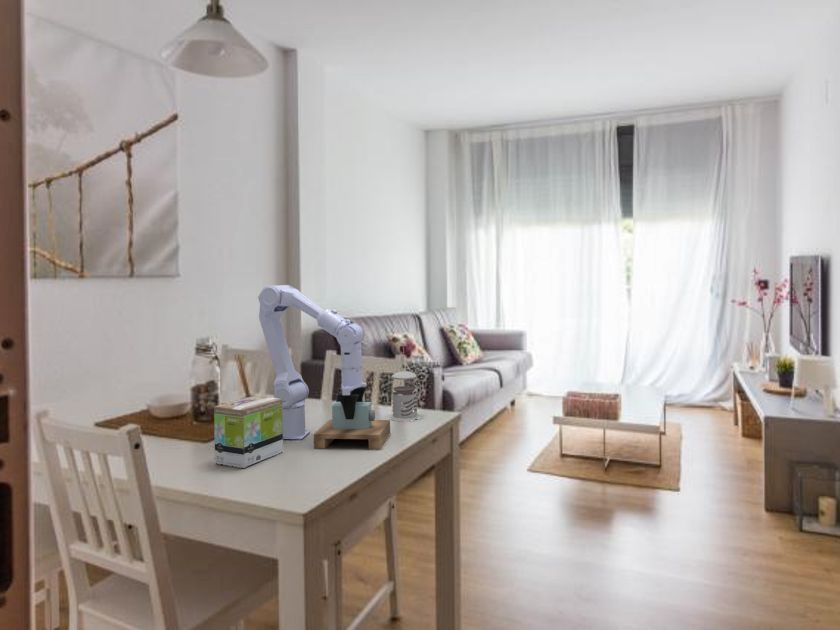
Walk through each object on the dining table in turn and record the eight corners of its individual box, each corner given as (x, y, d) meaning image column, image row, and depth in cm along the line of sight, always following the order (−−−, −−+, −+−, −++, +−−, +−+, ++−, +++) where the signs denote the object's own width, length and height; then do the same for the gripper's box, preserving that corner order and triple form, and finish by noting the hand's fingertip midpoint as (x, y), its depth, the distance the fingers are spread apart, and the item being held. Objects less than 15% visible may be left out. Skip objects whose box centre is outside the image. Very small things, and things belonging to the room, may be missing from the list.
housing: (332, 428, 164) (332, 405, 164) (337, 424, 169) (336, 401, 169) (372, 429, 163) (371, 405, 162) (376, 424, 168) (375, 402, 167)
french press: (383, 418, 192) (381, 341, 190) (409, 412, 200) (407, 338, 198) (404, 423, 185) (402, 343, 183) (430, 416, 193) (428, 340, 191)
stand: (314, 448, 159) (313, 433, 159) (330, 432, 175) (329, 419, 175) (379, 449, 157) (379, 434, 157) (390, 433, 173) (390, 420, 173)
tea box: (245, 469, 143) (243, 409, 142) (214, 464, 147) (211, 406, 147) (284, 452, 157) (282, 397, 156) (255, 448, 161) (252, 394, 160)
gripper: (359, 371, 157) (361, 422, 158) (371, 363, 171) (372, 410, 172) (334, 371, 158) (335, 422, 159) (347, 363, 172) (348, 409, 173)
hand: (353, 415), depth 166 cm, fingers open, 7 cm apart
